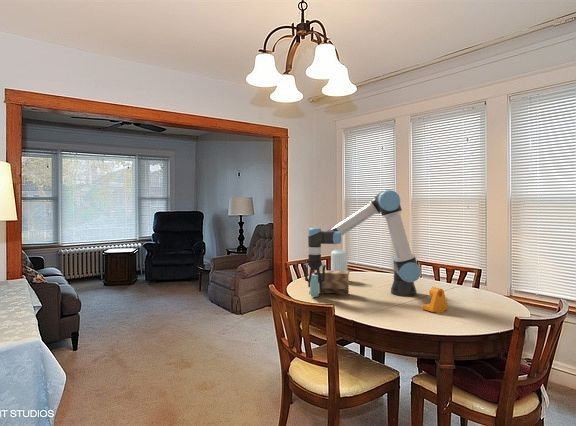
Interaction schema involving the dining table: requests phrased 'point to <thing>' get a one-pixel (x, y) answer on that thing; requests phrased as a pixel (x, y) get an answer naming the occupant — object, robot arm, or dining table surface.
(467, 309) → the dining table surface
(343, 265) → the vase
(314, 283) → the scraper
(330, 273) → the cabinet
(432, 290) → the bracket
